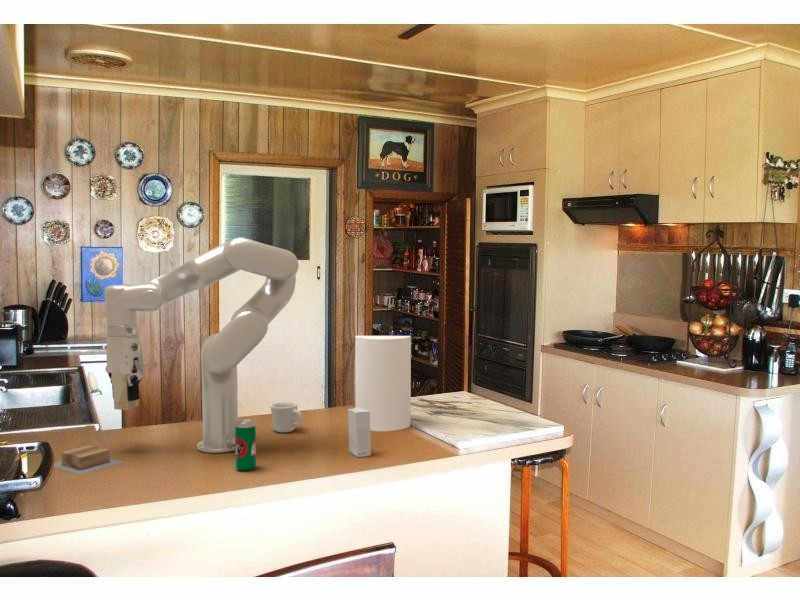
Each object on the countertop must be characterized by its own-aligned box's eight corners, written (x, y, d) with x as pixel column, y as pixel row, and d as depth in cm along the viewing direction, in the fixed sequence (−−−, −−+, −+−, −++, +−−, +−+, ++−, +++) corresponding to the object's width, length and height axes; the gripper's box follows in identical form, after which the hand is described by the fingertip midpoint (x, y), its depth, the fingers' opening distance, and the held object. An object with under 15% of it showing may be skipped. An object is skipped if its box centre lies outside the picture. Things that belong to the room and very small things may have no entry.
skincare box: (371, 455, 188) (371, 410, 187) (356, 458, 186) (356, 412, 185) (362, 450, 193) (362, 406, 192) (347, 452, 191) (347, 407, 190)
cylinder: (410, 431, 213) (410, 339, 211) (353, 431, 213) (353, 339, 211) (410, 417, 230) (410, 332, 228) (357, 417, 230) (357, 332, 228)
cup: (310, 431, 213) (310, 405, 213) (292, 436, 206) (292, 410, 206) (283, 426, 219) (283, 400, 218) (265, 431, 212) (265, 405, 212)
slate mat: (124, 465, 179) (124, 462, 179) (80, 477, 169) (80, 474, 169) (91, 456, 187) (91, 453, 187) (47, 467, 177) (47, 464, 177)
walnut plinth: (109, 462, 179) (109, 449, 179) (80, 470, 172) (80, 457, 172) (91, 456, 184) (90, 444, 183) (61, 464, 177) (61, 452, 177)
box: (128, 410, 185) (125, 368, 184) (113, 409, 186) (110, 368, 185) (139, 405, 190) (137, 365, 189) (125, 405, 191) (122, 364, 190)
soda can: (256, 471, 174) (255, 423, 174) (235, 472, 173) (234, 424, 173) (256, 465, 179) (255, 418, 179) (235, 466, 178) (235, 419, 177)
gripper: (155, 331, 185) (158, 399, 186) (114, 328, 194) (118, 393, 196) (130, 334, 178) (134, 405, 180) (90, 331, 188) (94, 398, 189)
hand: (126, 398), depth 188 cm, fingers closed on box, 5 cm apart
